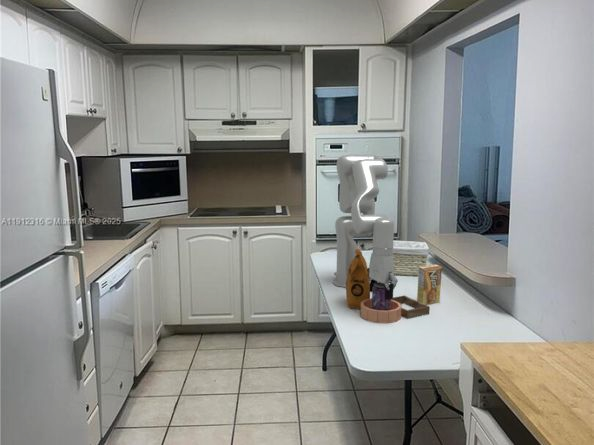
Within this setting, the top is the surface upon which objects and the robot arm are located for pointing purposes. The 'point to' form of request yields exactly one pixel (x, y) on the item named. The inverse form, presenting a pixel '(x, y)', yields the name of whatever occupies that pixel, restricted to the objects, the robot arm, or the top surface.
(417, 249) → the storage basket
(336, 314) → the top surface
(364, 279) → the coffee package
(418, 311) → the tray frame
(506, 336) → the top surface
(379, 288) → the beverage can
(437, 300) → the candy box
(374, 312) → the bowl
